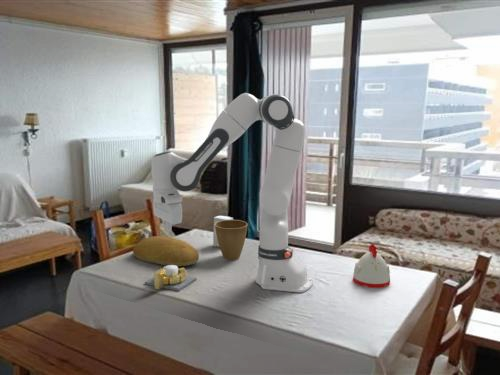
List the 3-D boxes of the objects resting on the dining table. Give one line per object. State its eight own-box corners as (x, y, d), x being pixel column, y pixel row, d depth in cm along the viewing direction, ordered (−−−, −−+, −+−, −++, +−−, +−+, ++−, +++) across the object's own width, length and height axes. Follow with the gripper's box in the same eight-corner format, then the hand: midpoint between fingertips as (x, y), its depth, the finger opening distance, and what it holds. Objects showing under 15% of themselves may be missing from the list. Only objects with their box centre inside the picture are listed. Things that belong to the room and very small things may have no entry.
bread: (183, 272, 177) (183, 249, 175) (124, 258, 195) (123, 237, 193) (210, 260, 192) (209, 238, 190) (153, 248, 210) (152, 228, 208)
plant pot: (208, 257, 195) (208, 223, 193) (233, 250, 205) (233, 218, 202) (229, 265, 184) (229, 229, 182) (254, 257, 194) (254, 223, 192)
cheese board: (165, 272, 173) (165, 258, 172) (190, 275, 169) (189, 261, 168) (143, 286, 158) (142, 271, 157) (170, 290, 154) (169, 275, 153)
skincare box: (213, 246, 212) (212, 217, 209) (219, 243, 217) (218, 214, 214) (227, 248, 208) (227, 219, 205) (233, 245, 213) (233, 216, 211)
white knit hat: (357, 288, 160) (359, 249, 157) (349, 274, 173) (351, 239, 171) (394, 288, 160) (397, 249, 157) (383, 274, 173) (385, 239, 171)
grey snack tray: (196, 280, 168) (196, 265, 167) (178, 291, 157) (178, 276, 156) (163, 273, 175) (163, 259, 174) (144, 284, 164) (143, 269, 163)
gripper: (147, 192, 165) (150, 227, 167) (167, 200, 148) (170, 238, 150) (163, 190, 168) (165, 224, 170) (184, 198, 151) (186, 235, 153)
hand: (168, 231), depth 160 cm, fingers closed
